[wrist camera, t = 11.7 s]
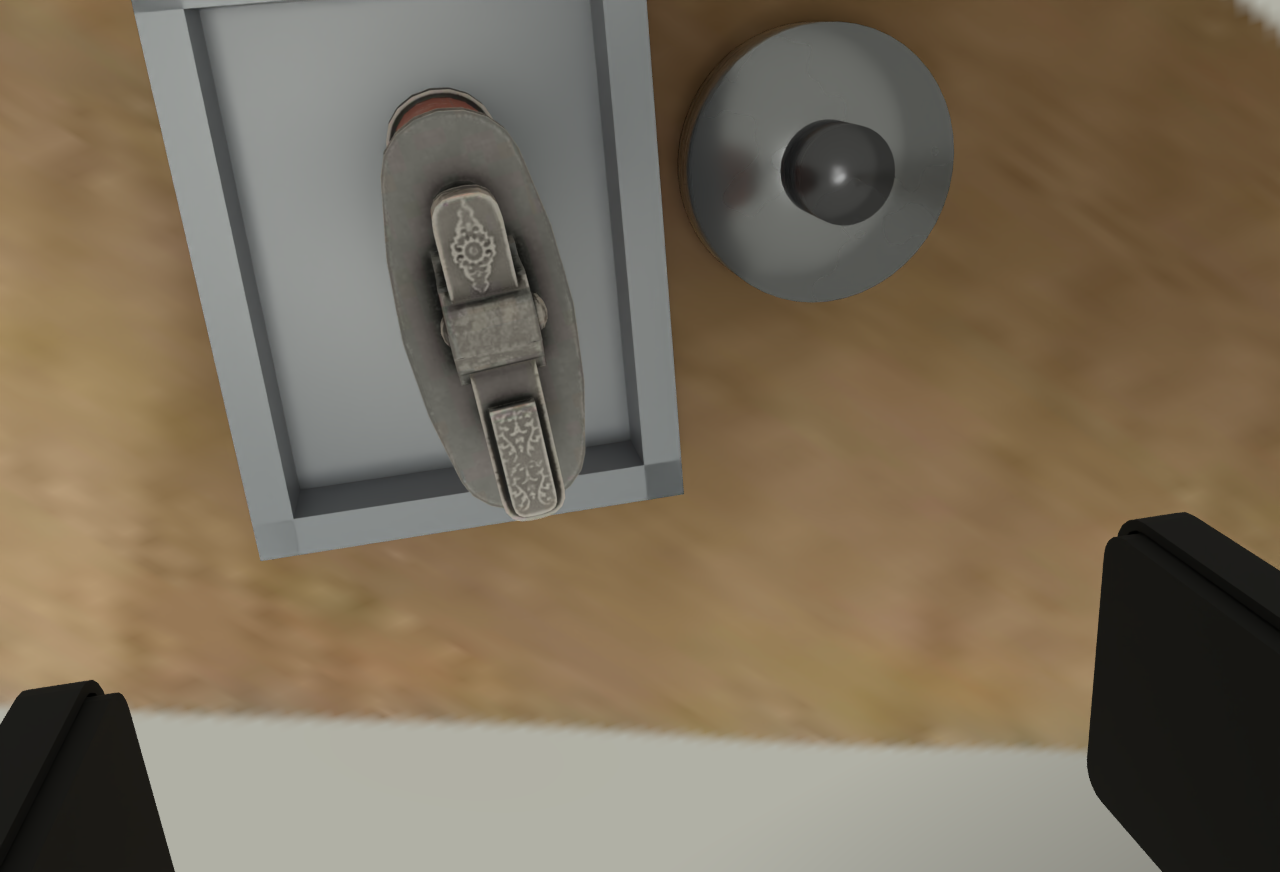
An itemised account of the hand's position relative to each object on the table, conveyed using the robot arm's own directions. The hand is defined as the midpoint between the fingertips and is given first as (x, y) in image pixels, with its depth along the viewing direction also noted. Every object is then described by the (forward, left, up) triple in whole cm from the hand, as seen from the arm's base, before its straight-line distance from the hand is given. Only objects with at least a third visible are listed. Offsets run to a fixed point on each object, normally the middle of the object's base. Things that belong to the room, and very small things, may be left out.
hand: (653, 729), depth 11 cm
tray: (+1, -1, -21) cm, 21 cm away
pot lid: (-9, -2, -21) cm, 22 cm away
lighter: (+1, -1, -20) cm, 20 cm away
